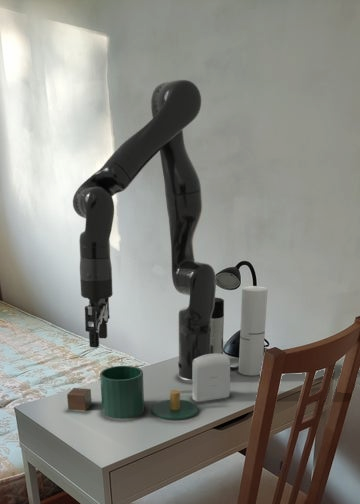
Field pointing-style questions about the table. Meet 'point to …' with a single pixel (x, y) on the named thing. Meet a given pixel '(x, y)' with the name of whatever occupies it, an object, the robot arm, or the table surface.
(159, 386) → the table surface
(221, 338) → the spray can
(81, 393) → the block
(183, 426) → the table surface
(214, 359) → the photo printer
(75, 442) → the table surface
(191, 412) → the lid
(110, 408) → the tin
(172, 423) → the table surface
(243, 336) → the cylindrical container
